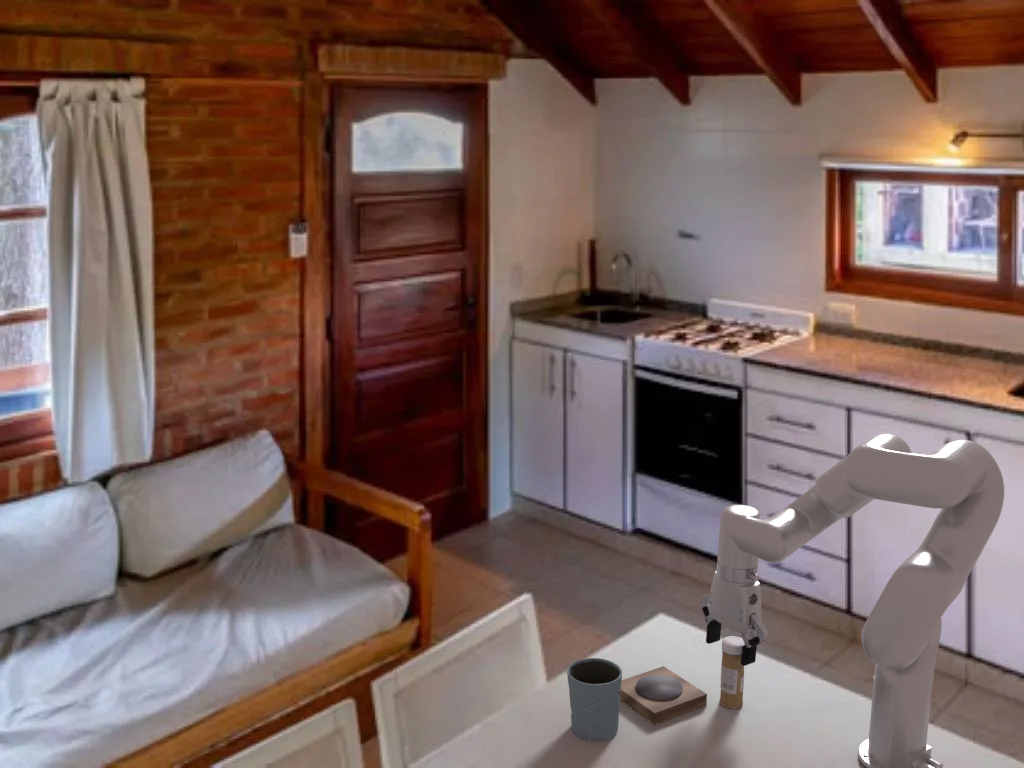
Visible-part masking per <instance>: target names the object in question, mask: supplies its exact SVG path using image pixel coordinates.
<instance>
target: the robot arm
mask: <svg viewBox="0 0 1024 768" xmlns="http://www.w3.org/2000/svg"><path fill="white" fill-rule="evenodd" d="M874 500H880V501H884V502H885V501H886V502H892V503H896V504H897V503H898V504H904V505H909V506H910V505H911V506H916V507H921V508H922V507H923V508H929V509H941V510H940V511H939V512H938V514H937V515H936V518H935V519H934V521H933V523H932V525H931V528H930V529H929V530H928V533H927V534H926V536H925V538H924V539H923V541H922V542H921V544H920V545H919V547H918V548H917V549H916V550H915V551H914V552H913V553H912V554H911V555H910V556H909V557H907V558H906V560H904V561H903V563H902V564H900V565H899V566H898V567H897V569H896V570H895V571H894V572H893V574H892V575H891V577H889V580H888V581H887V583H886V585H885V586H884V588H883V590H882V592H881V594H880V596H879V597H878V598H877V601H876V603H875V605H874V606H873V608H872V610H871V612H870V613H869V615H868V617H867V619H866V621H865V623H864V625H863V627H862V631H861V645H862V648H863V652H864V653H865V655H866V656H867V657H868V659H869V661H870V662H872V663H873V664H874V665H875V666H874V667H875V668H874V674H873V686H872V698H871V706H870V707H871V709H870V718H869V719H870V720H869V732H868V738H867V739H866V740H864V741H862V742H861V743H860V745H859V746H858V755H857V757H858V760H859V761H860V762H861V764H862V765H863V766H866V767H867V768H943V767H944V764H943V763H942V762H940V761H938V760H937V759H934V758H933V756H932V748H933V747H932V746H930V745H928V744H927V742H928V741H927V740H928V731H929V720H930V710H931V703H932V701H931V700H932V690H933V686H934V685H933V684H934V673H935V666H936V660H937V655H938V651H939V650H938V649H939V645H940V641H941V635H942V625H943V623H942V617H943V615H944V613H946V610H948V608H949V607H950V606H951V605H952V604H953V602H954V601H955V600H956V599H957V598H958V597H959V595H960V594H961V592H962V590H963V588H964V586H965V583H966V581H967V579H968V578H969V575H970V573H971V572H972V569H973V568H974V566H975V564H976V563H977V562H978V560H979V558H980V556H981V554H982V553H983V550H984V549H985V546H986V544H987V543H988V541H989V539H990V538H991V536H992V534H993V532H994V530H995V528H996V526H997V525H998V522H999V519H1000V516H1001V513H1002V510H1003V506H1004V502H1005V501H1004V500H1005V484H1004V478H1003V474H1002V471H1001V468H1000V467H999V465H998V463H997V461H996V459H995V458H994V457H993V455H992V453H990V451H988V450H987V449H986V448H985V447H984V446H982V445H981V444H980V443H978V442H976V441H973V440H967V439H958V440H953V441H950V442H947V443H945V444H943V445H942V446H941V447H939V448H937V449H936V450H935V451H933V452H932V453H931V454H929V455H928V454H927V455H926V454H917V453H912V450H911V448H910V446H909V445H908V443H907V442H906V441H905V440H904V439H902V438H901V437H900V436H897V435H894V434H889V433H881V434H876V435H875V436H873V437H870V438H869V439H867V440H866V441H864V442H863V443H861V444H860V445H858V446H856V447H855V448H854V449H852V450H851V451H850V452H849V453H848V455H846V456H845V457H844V458H843V459H841V460H840V461H838V462H837V463H836V464H834V465H833V466H832V467H830V468H829V469H827V470H826V471H825V472H824V473H822V474H821V475H820V476H818V477H817V478H816V480H815V484H814V485H812V487H811V488H809V489H808V490H807V491H805V493H803V494H801V496H799V497H798V498H796V499H795V500H794V501H792V502H791V503H790V504H788V505H787V506H785V507H784V508H783V509H781V510H779V511H778V512H776V513H775V514H773V515H771V516H770V517H768V518H765V519H762V518H763V517H762V515H761V512H760V511H759V510H758V509H757V508H755V507H753V506H750V505H744V504H731V505H728V506H725V508H723V509H722V512H721V514H720V520H719V533H718V534H719V535H718V537H719V538H718V545H717V546H718V547H717V563H716V571H715V572H714V575H713V578H712V582H711V587H710V591H709V594H704V595H701V596H699V597H700V602H701V606H702V608H701V609H702V610H701V611H702V613H703V615H704V617H705V618H704V622H705V623H706V636H705V643H707V644H708V645H709V644H713V643H717V642H718V641H721V631H722V625H723V626H725V627H726V628H728V629H730V630H732V631H734V632H736V633H737V634H739V635H740V636H741V638H742V639H743V641H744V644H745V645H744V646H743V647H742V656H741V664H742V665H743V666H744V667H745V666H746V667H747V666H748V665H751V664H754V663H756V657H757V646H758V645H759V646H760V645H761V644H762V643H763V642H764V641H765V639H766V637H768V634H769V630H768V628H767V627H766V626H765V624H764V623H763V622H762V591H761V585H760V582H759V580H760V575H759V574H758V567H759V559H760V560H762V561H765V562H767V563H771V564H773V563H774V564H776V563H781V562H783V561H784V560H786V559H787V558H788V557H790V556H791V555H793V554H794V553H795V552H797V551H798V550H799V549H800V548H802V547H804V546H805V545H806V544H807V543H808V542H811V540H813V539H815V537H817V536H819V535H820V534H821V533H823V532H824V531H825V530H827V529H829V528H830V527H831V526H832V525H834V524H835V523H837V522H838V521H840V520H842V519H848V518H850V517H852V516H853V515H854V514H855V513H857V512H858V511H860V510H861V509H862V508H864V507H865V506H867V505H868V504H869V503H871V502H872V501H874ZM749 634H750V637H751V639H750V637H749ZM866 767H865V768H866Z"/></svg>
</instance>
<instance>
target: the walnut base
mask: <svg viewBox="0 0 1024 768" xmlns="http://www.w3.org/2000/svg"><path fill="white" fill-rule="evenodd" d="M620 691H621V692H620V700H621V701H622V702H621V701H620V702H621V703H623V704H624V703H625V704H626V705H625V704H624V705H625V706H627V705H628V706H629V707H628V706H627V707H628V708H630V707H631V708H632V709H633V710H632V709H631V708H630V709H631V710H632V711H634V712H635V711H636V712H635V713H637V712H638V713H637V714H638V715H639V714H640V715H639V716H641V717H642V718H643V719H645V720H646V719H647V720H646V721H648V720H649V721H650V722H649V721H648V722H649V723H651V724H652V723H653V724H654V725H653V724H652V725H653V726H657V725H658V724H657V723H659V724H661V723H664V722H666V721H665V720H667V721H669V720H671V718H672V719H675V718H677V716H678V717H680V716H683V715H685V713H686V714H687V713H690V712H694V711H696V710H698V709H702V708H704V707H707V703H708V694H707V693H706V692H705V691H703V690H702V689H700V688H698V687H697V686H696V685H694V684H693V683H690V681H688V680H685V679H684V678H682V677H681V675H680V676H679V675H678V674H677V673H675V672H674V671H672V670H670V669H669V668H667V667H666V666H664V665H663V666H661V667H657V668H654V669H651V670H648V671H644V672H642V673H640V674H639V673H638V674H636V675H633V676H631V677H627V678H624V679H622V681H621V689H620ZM701 707H702V708H701ZM695 709H696V710H695ZM682 714H683V715H682ZM674 717H675V718H674ZM668 719H669V720H668ZM663 721H664V722H663ZM660 722H661V723H660Z"/></svg>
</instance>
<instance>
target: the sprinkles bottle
mask: <svg viewBox="0 0 1024 768" xmlns="http://www.w3.org/2000/svg"><path fill="white" fill-rule="evenodd" d="M744 645H745V644H744V641H743V639H742V637H739V636H735V635H731V636H725V637H724V638H723V639H722V641H721V651H722V654H721V669H720V698H719V704H720V705H721V706H722V707H723V708H726V709H730V710H736V709H738V710H739V708H742V707H743V704H744V701H743V696H744V686H745V685H744V684H745V683H744V681H745V666H743V665H742V664H741V656H742V647H743V646H744Z"/></svg>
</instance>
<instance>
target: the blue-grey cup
mask: <svg viewBox="0 0 1024 768" xmlns="http://www.w3.org/2000/svg"><path fill="white" fill-rule="evenodd" d="M566 673H567V675H566V676H567V684H568V695H569V703H570V704H569V706H570V711H571V715H570V720H571V729H572V733H574V735H575V736H576V737H577V736H578V737H577V738H579V739H581V740H583V739H585V740H584V741H586V740H590V741H589V742H593V741H597V742H598V741H599V742H603V741H602V740H606V741H608V740H607V739H609V740H611V739H613V738H614V737H615V736H616V735H617V734H616V733H618V730H619V721H620V708H621V701H620V692H621V691H620V689H621V681H622V680H623V679H622V678H623V670H622V668H621V666H619V665H618V664H617V663H615V662H614V661H611V660H608V659H605V658H600V657H599V658H597V657H591V658H590V657H589V658H588V657H587V658H582V659H578V660H576V661H573V662H572V663H571V664H570V665H569V666H568V667H567V671H566ZM613 736H614V737H613ZM612 737H613V738H612ZM610 738H611V739H610Z"/></svg>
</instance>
